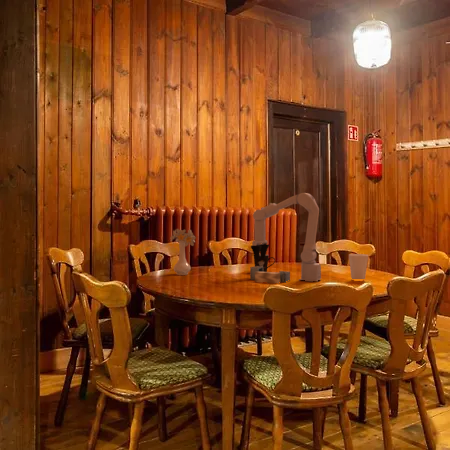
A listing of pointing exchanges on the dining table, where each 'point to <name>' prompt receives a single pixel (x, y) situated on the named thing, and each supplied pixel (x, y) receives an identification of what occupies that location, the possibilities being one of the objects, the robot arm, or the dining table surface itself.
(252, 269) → the grey rectangular block
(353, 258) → the foam cup
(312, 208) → the robot arm
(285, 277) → the open end cap
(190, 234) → the flower vase
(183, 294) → the dining table surface
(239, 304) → the dining table surface
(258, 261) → the coffee mug
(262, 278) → the light brown long block
